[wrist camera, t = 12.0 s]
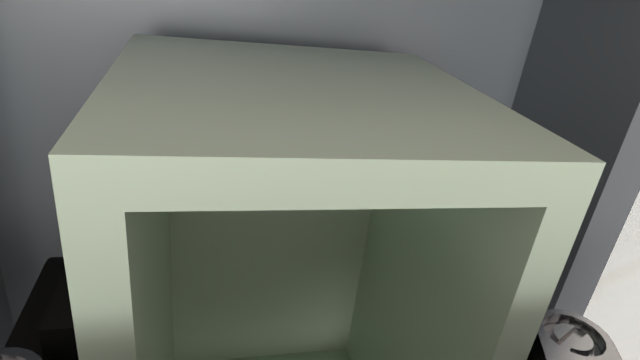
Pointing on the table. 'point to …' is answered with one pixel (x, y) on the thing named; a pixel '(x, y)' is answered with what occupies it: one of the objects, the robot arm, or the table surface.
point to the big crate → (341, 33)
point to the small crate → (308, 208)
